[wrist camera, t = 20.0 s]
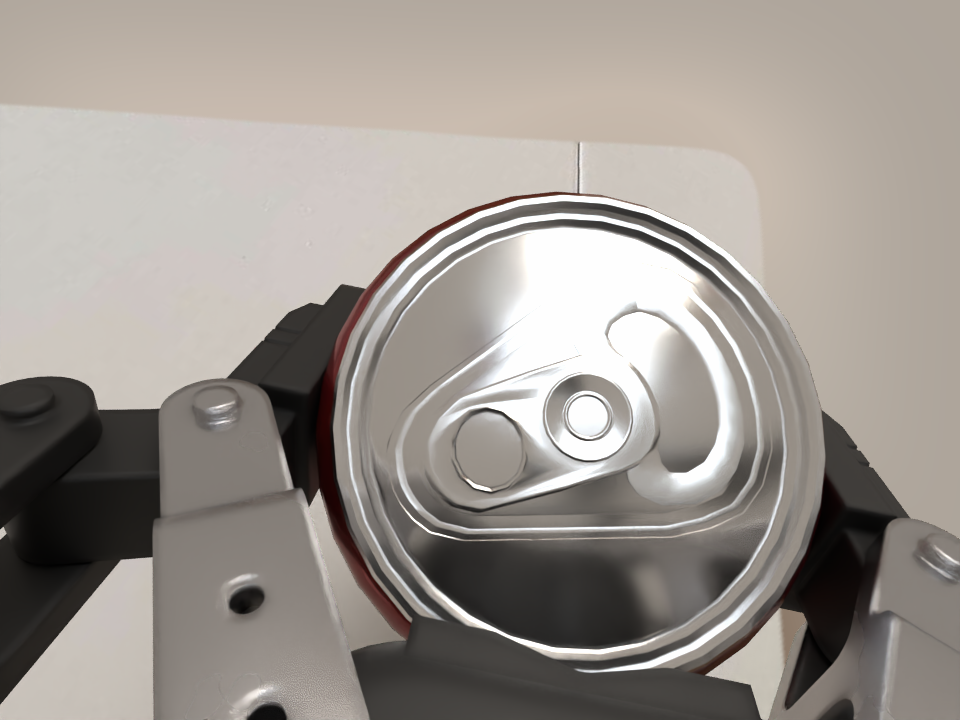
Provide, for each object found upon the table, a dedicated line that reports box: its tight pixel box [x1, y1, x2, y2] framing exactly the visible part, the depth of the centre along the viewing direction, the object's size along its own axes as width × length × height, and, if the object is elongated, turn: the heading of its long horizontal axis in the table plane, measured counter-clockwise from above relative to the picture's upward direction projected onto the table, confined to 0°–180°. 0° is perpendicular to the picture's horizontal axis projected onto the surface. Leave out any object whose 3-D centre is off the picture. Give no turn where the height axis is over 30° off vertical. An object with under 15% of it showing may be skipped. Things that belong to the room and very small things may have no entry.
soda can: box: [315, 192, 826, 675], centre depth 13 cm, size 7×7×12 cm
